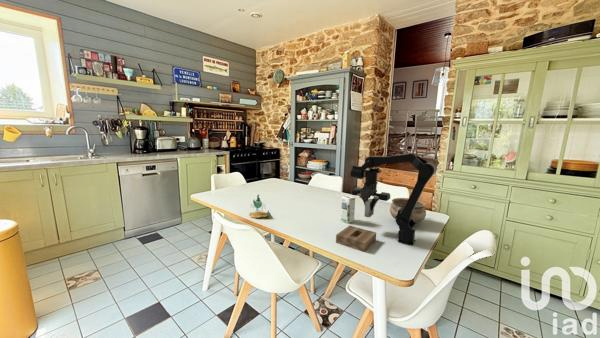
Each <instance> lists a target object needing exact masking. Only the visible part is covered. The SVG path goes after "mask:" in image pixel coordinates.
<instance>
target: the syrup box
mask: <svg viewBox="0 0 600 338" xmlns="http://www.w3.org/2000/svg"><path fill="white" fill-rule="evenodd" d="M355 208H356V197H354V196H350V195H344V196H342V197H341V210H340V221H341V222H343V223H346V224H350V223H353V222H355V213H356V212H355Z"/></svg>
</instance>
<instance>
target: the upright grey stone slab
mask: <svg viewBox="0 0 600 338" xmlns="http://www.w3.org/2000/svg"><path fill="white" fill-rule="evenodd" d="M372 199H373V198H368V200H367V201H365V205H364V215H363V216H364V217H365V218H370V217H372V216H373V215H374V212H375V208H374V209H373V211H371V207H372Z"/></svg>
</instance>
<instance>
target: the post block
mask: <svg viewBox="0 0 600 338" xmlns="http://www.w3.org/2000/svg"><path fill="white" fill-rule="evenodd" d="M375 241H377V232H376V231H372V230H368V229H364V228H361V227H358V226H357V227H356V226H355V225H347V227H345V228H344V229H342V230H341V231H339V232H338V233H336V235H335V243H336V244H339V245H342V246H345V247H347V248H351V249H355V250H358V251H361V252H363V253H365V252H366V251H367V250H368V249H369V248H370V247H371V246H372V245H373V244H374V243H375Z"/></svg>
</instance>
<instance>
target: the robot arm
mask: <svg viewBox="0 0 600 338" xmlns="http://www.w3.org/2000/svg"><path fill="white" fill-rule="evenodd" d="M401 163H409V164H410V165H412V166H413V167H414V168H415V169H416V170H418V174H417V179H416V182H415V184H414V187H413V189H412V192H410V195H409V197H408V198H409V199H408V201H407V203H406V206H405V207H404V208H403V207H401V208H400V209H399V210H398V214H397V216H396V217H395V218H396V219H395V218H394V219H395V222H396V224H397V226H398V229H399V230H398V232H397V233H398V234H397V239H398V240H397V242H398V243H401V244H403V245H404V244H405V245H408V246H413V245H414V244H415V242H416V239H415V237H416V229H415V228H416V226H417V223H415V222H414V221H413V219H412V217H413V212H414V208H415V206H416V204H417V202H418V200H419V201H420V197H421V196H422V194H423V191H424V190H425V188H426V185H427V184H428V182H429V181H430V180H431V179H432V177H433V176H434V175H435V174H436V172H437V165H435V164H434V163H433V162H431V161H430V162H428V161H427V160H426V159H424V158H422V157H421V156H419V155H418V154H416V153H415V152H410V153H406V154H405V153H404V154H396V155H395V154H394V155H387V156H386V155H385V156H383V155H370V156H367V157H366V158H365V160H364V163H363V164H362V165H361V166H360V165H352V168H351V170H350V178H351V179H358V180H363V179H365V180H364V183H363V186H362V188H361V187H355V188H352V189H351V192H350V193H351V195H352V196H358V195H359V196H358V197H359V198H361V200H362V202H363V204H364V206H365V201H367V200H369V199H372V207H371V211H373V209H374V210H375V206H376V204H377V203H378V201H382V202H387V201H389V200H391V194H390V193H389V192H385V191H381V192H380V193H379V192H378V189H377V188H378V187H377V186H378V184H379V183H378V174H380V173H382V169H380V168H379V166H383V165H391V164H401ZM371 197H372V198H371Z"/></svg>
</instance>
